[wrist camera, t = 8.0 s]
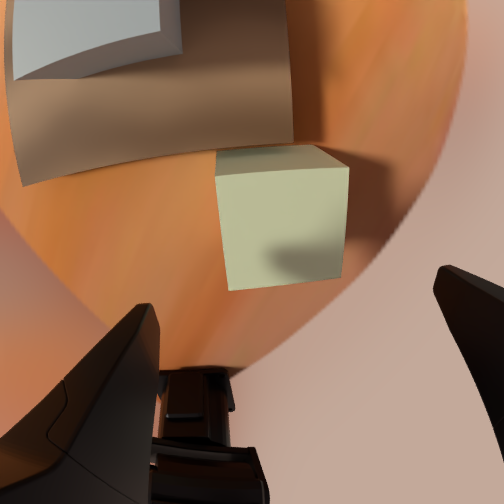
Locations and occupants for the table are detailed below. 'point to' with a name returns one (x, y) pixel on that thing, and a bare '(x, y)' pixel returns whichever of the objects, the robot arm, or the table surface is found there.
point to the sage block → (281, 214)
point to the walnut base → (161, 95)
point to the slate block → (91, 35)
